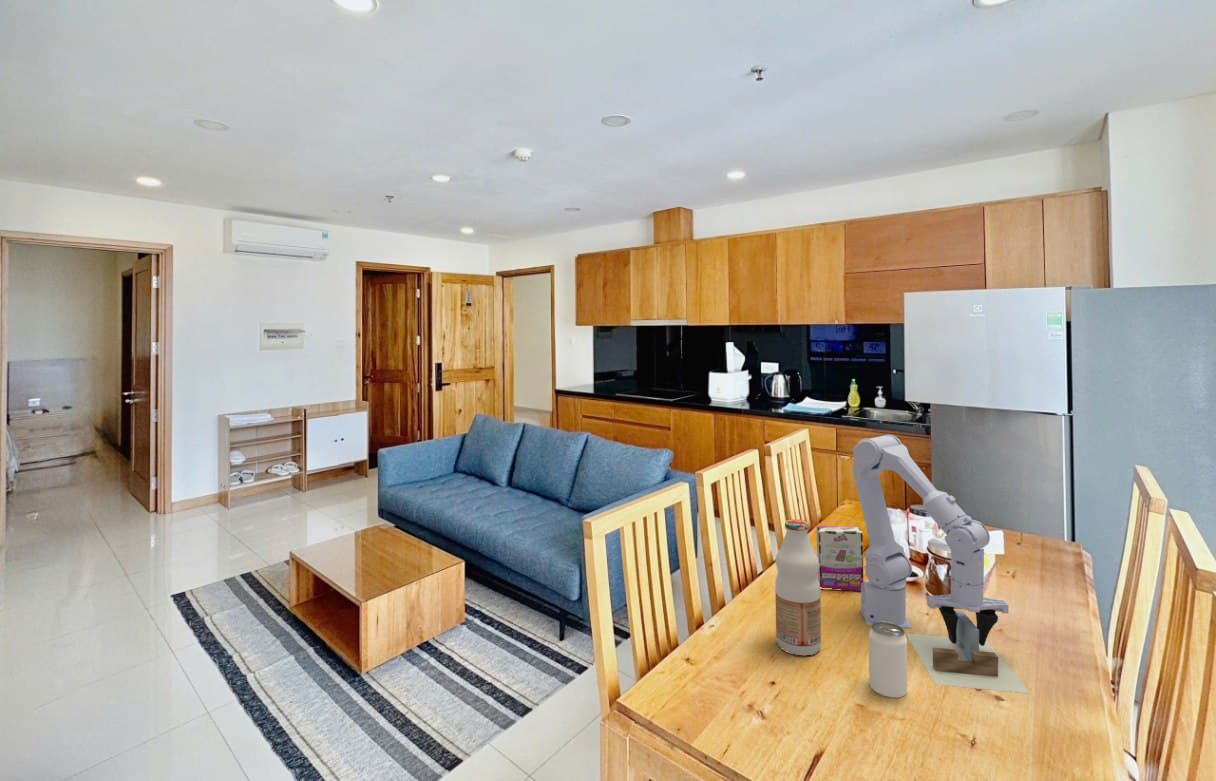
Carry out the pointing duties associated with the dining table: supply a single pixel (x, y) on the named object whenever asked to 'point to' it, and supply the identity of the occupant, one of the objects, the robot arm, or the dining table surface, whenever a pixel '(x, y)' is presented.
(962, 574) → the robot arm
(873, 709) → the dining table surface
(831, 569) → the candy bar box
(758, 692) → the dining table surface
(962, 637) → the grey flat block
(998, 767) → the dining table surface
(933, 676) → the felt mat
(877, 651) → the can
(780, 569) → the fruit juice
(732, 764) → the dining table surface
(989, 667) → the walnut slotted plate
